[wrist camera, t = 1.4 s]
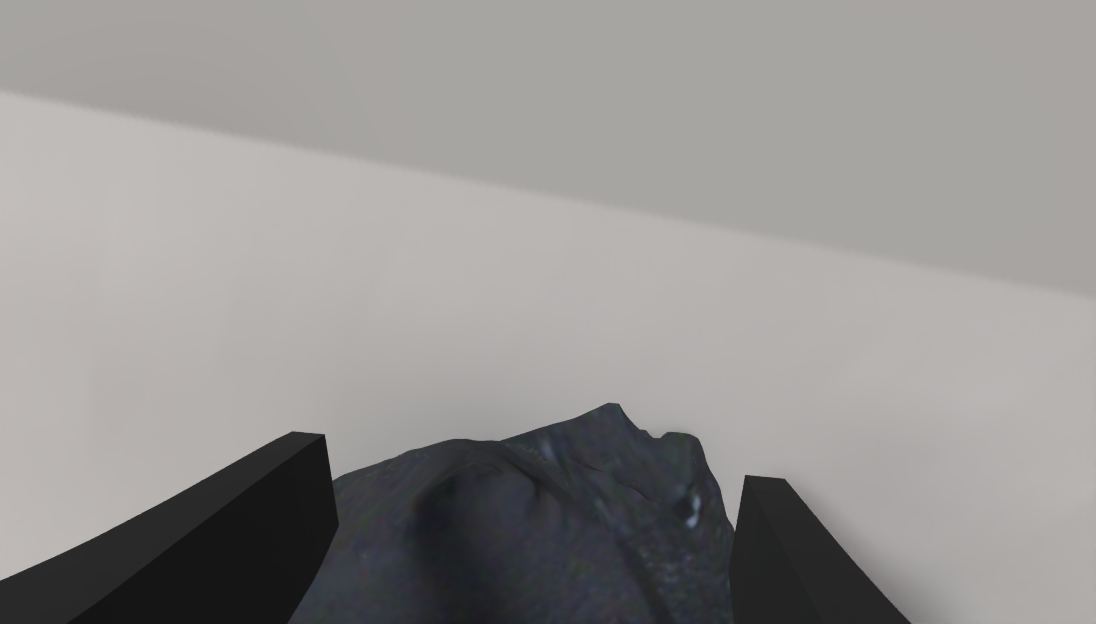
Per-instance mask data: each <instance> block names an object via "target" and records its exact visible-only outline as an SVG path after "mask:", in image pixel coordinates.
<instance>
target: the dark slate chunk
mask: <svg viewBox="0 0 1096 624" xmlns="http://www.w3.org/2000/svg"><path fill="white" fill-rule="evenodd" d="M332 483H333V490H334V496H335V502H336V509H337V515H338V521H339V527H338V529H337V531H336V534H335V536H334V538H333V541H332V543H331V545H330V547H329V550H328V552H327V554H326V556H325V558H324V560H323V563H322V565H321V567H320V569H319V571H318V573H317V575H316V577H315V579H314V581H313V583H312V584H311V586H310V588H309V589H308V591H307V593H306V594H305V596H304V598H303V599H302V601H301V602H300V604H299V606H298V607H297V609H296V611H295V612H294V614H293V615H292V617H291V619H290V620H289V622H288V624H734V620H733V611H732V602H731V592H730V582H729V572H728V570H729V564H730V558H731V553H732V547H733V542H734V536H735V531H734V528H733V526H732V524H731V523H730V521H729V520H728V518H727V516H726V512H725V507H724V503H723V500H722V495H721V490H720V487H719V485H718V483H717V481H716V479H715V477H714V476H713V474H712V473H711V471H710V469H709V467H708V464H707V462H706V458H705V455H704V451H703V448H702V446H701V443H700V441H699V439H698V438H696V437H694V436H692V435H690V434H686V433H678V432H667V433H666V434H664V435H663V436H662V437H661V438H652V437H650V436H649V434H648V433H647V432H646V430H640V429H638V428H637V427H636V426H635V425H634V424H633V423H632V422H631V421H630V419H629V418H628V417H627V416H626V415H625V413H624V412H623V410H622V408H621V407H620V405H619V404H615V403H607V404H604V405H602V406H600V407H598V408H596V409H594V410H592V411H589V412H587V413H585V414H583V415H581V416H579V417H576V418H574V419H570V420H567V421H563V422H559V423H555V424H552V425H548V426H545V427H542V428H538V429H535V430H532V431H530V432H527V433H524V434H520V435H517V436H514V437H511V438H508V439H505V440H501V441H492V440H491V441H475V440H469V439H451V440H447V441H443V442H440V443H436V444H433V445H430V446H427V447H423V448H419V449H413V450H409V451H407V452H405V453H403V454H401V455H399V456H397V457H395V458H392V459H388V460H385V461H382V462H380V463H377V464H375V465H372V466H369V467H365V468H362V469H359V470H356V471H353V472H350V473H347V474H344V475H342V476H340V477H339V478H337V479H335V480H333V481H332Z"/></svg>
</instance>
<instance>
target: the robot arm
mask: <svg viewBox="0 0 1096 624" xmlns="http://www.w3.org/2000/svg"><path fill="white" fill-rule="evenodd" d="M338 527H339V521H338V515H337V509H336V502H335V496H334V490H333V483H332V477H331V471H330V464H329V458H328V452H327V445H326V439H325V434H314V433H304V432H293V431H292V432H290V433H288V434H286V435H284V436H282V437H280V438H278V439H276V440H274V441H272V442H270V443H268V444H266V445H265V446H263V447H261V448H259V449H257V450H256V451H254V452H252V453H250V454H248V455H247V456H245V457H243V458H241V459H239V460H238V461H236V462H234V463H232V464H231V465H229V466H227V467H225V468H224V469H222V470H220V471H218V472H216V473H215V474H213V475H211V476H209V477H208V478H206V479H204V480H202V481H200V482H199V483H197V484H195V485H193V486H191V487H190V488H188V489H186V490H184V491H183V492H181V493H179V494H177V495H175V496H174V497H172V498H170V499H168V500H166V501H164V502H162V503H160V504H159V505H157V506H155V507H153V508H151V509H149V510H147V511H145V512H143V513H141V514H139V515H137V516H136V517H134V518H132V519H130V520H128V521H126V522H124V523H122V524H120V525H118V526H116V527H114V528H113V529H111V530H109V531H107V532H105V533H103V534H101V535H99V536H97V537H95V538H93V539H91V540H89V541H87V542H85V543H83V544H81V545H79V546H77V547H74V548H72V549H70V550H68V551H66V552H64V553H62V554H60V555H57V556H55V557H53V558H51V559H49V560H46V561H44V562H42V563H40V564H37V565H35V566H33V567H31V568H28V569H26V570H24V571H22V572H19V573H17V574H15V575H13V576H10V577H8V578H6V579H3V580H1V581H0V624H288V622H289V620H290V619H291V617H292V615H293V614H294V612H295V611H296V609H297V607H298V606H299V604H300V602H301V601H302V599H303V598H304V596H305V594H306V593H307V591H308V589H309V588H310V586H311V584H312V583H313V581H314V579H315V577H316V575H317V573H318V571H319V569H320V567H321V565H322V563H323V560H324V558H325V556H326V554H327V552H328V550H329V547H330V545H331V543H332V541H333V538H334V536H335V534H336V531H337V529H338ZM728 572H729V582H730V592H731V602H732V611H733V620H734V624H911V623H910V622H909V621H908V620H907V619H906V618H905V617H904V616H903V615H902V614H901V613H900V612H899V611H898V610H897V609H896V607H895V606H894V605H893V604H892V603H891V602H890V601H889V600H888V599H887V598H886V597H885V596H884V595H883V594H882V592H881V591H880V590H879V589H878V588H877V587H876V586H875V585H874V583H873V582H872V581H871V580H870V579H869V578H868V577H867V576H866V574H865V573H864V572H863V571H862V570H861V569H860V568H859V567H858V565H857V564H856V563H855V562H854V561H853V560H852V559H851V558H850V556H849V555H848V554H847V553H846V552H845V551H844V549H843V548H842V547H841V546H840V545H839V544H838V542H837V541H836V540H835V539H834V538H833V536H832V535H831V534H830V533H829V532H828V530H827V529H826V528H825V527H824V526H823V525H822V523H821V522H820V521H819V520H818V518H817V517H816V516H815V515H814V514H813V512H812V511H811V510H810V509H809V508H808V506H807V505H806V504H805V503H804V501H803V500H802V499H801V498H800V497H799V495H798V494H797V493H796V492H795V491H794V489H793V488H792V487H791V486H790V485H789V484H788V482H787V481H786V480H785V479H781V478H771V477H760V476H750V475H745V479H744V485H743V491H742V496H741V502H740V508H739V513H738V519H737V525H736V530H735V536H734V542H733V547H732V553H731V558H730V564H729V570H728Z"/></svg>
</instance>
